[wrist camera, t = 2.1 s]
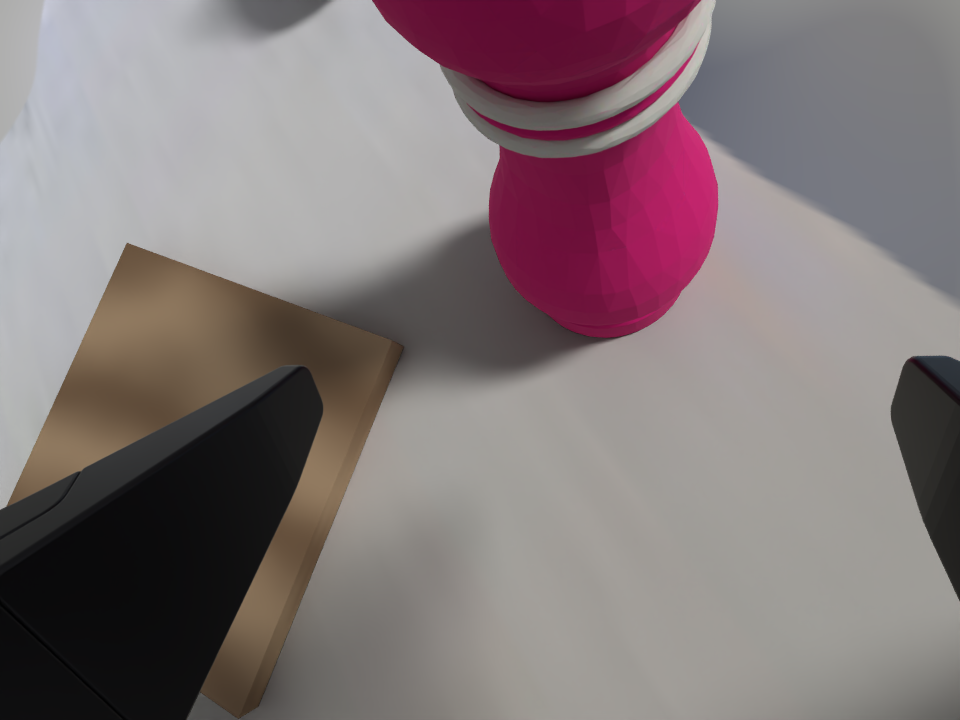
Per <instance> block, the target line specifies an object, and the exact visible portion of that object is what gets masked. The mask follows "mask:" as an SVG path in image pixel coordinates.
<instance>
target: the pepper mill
mask: <svg viewBox="0 0 960 720" xmlns="http://www.w3.org/2000/svg"><path fill="white" fill-rule="evenodd" d="M372 1H373V2H374V4H375V5H376V7H377V8H378V10H379V11H380V13H381V14H382V16H383V17H384V19H385V20H386V22H387V23H388V24H390V25H391V26H392V27H393V28H394V29H395V30H396V31H397V32H398V33H399V34H401V35H402V36H403V37H404V38H405V39H406V40H407V41H408V42H409V43H411V44H412V45H413V46H414V47H416V48H417V49H418V50H419V51H421V52H422V53H424V54H425V55H427V56H428V57H430V58H431V59H433V60H434V61H436V62H437V63H439V64H440V67H441V70H442V72H443V74H444V76H445V77H446V79H447V81H448V83H449V84H450V85H451V87H452V89H453V92H454V95H455V98H456V100H457V102H458V104H459V106H460V107H461V109H462V111H463V113H464V114H465V116H466V117H467V118H468V120H469V121H470V122H471V123H472V124H473V125H474V126H475V127H476V128H477V130H478V131H479V132H481V133H482V134H483V135H484V136H485V137H487V138H488V139H490V140H491V141H493V142H495V143H497V144H499V146H500V159H499V162H498V165H497V168H496V170H495V173H494V177H493V181H492V184H491V188H490V198H489V224H490V233H491V240H492V243H493V245H494V248H495V251H496V254H497V256H498V259H499V261H500V264H501V266H502V268H503V270H504V272H505V274H506V276H507V278H508V279H509V281H510V282H511V283H512V285H513V286H514V288H515V289H516V290H517V291H518V292H519V293H520V294H521V295H522V296H523V297H524V298H525V299H526V300H527V301H528V302H530V303H531V304H533V305H534V306H535V307H537V308H538V309H540V310H541V311H543V312H545V313H546V314H548V315H549V316H550V317H551V318H552V319H553V320H554V321H556V322H557V323H558V324H560V325H561V326H563V327H565V328H567V329H569V330H571V331H573V332H575V333H579V334H583V335H586V336H591V337H602V338H609V337H618V336H624V335H627V334H630V333H634V332H637V331H639V330H641V329H643V328H645V327H647V326H649V325H651V324H652V323H654V322H655V321H657V320H658V319H659V318H660V317H661V316H663V315H664V314H665V313H666V312H667V311H668V310H669V308H670V307H671V306H672V305H673V304H674V302H675V301H676V299H677V298H678V296H679V295H680V293H681V291H682V290H683V289H684V288H685V287H686V286H687V285H688V284H689V283H690V281H691V280H692V279H693V277H694V276H695V275H696V274H697V272H698V271H699V270H700V268H701V266H702V264H703V262H704V261H705V259H706V257H707V255H708V253H709V250H710V247H711V244H712V241H713V238H714V233H715V227H716V220H717V211H718V184H717V180H716V177H715V173H714V170H713V166H712V163H711V159H710V156H709V154H708V151H707V148H706V146H705V144H704V143H703V141H702V139H701V137H700V135H699V134H698V133H697V131H696V130H695V129H694V128H693V127H692V126H691V124H690V123H689V122H688V121H687V120H686V118H685V117H684V116H683V114H682V112H681V109H680V106H679V103H678V100H679V99H680V98H681V97H682V95H683V94H684V93H685V92H686V90H687V89H688V88H689V86H690V85H691V83H692V82H693V80H694V78H695V77H696V75H697V73H698V70H699V68H700V66H701V63H702V61H703V58H704V56H705V53H706V50H707V47H708V43H709V38H710V33H711V17H712V16H711V15H712V12H713V10H714V7H715V2H716V0H372Z"/></svg>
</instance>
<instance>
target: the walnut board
mask: <svg viewBox="0 0 960 720" xmlns="http://www.w3.org/2000/svg"><path fill="white" fill-rule="evenodd" d="M403 348H404V347H403V346H402V345H400V344H398V343H396V342H394V341H392V340H389V339H387V338H384V337H381V336H378V335H376V334H373V333H370V332H368V331H365V330H362V329H359V328H357V327H354V326H351V325H349V324H346V323H343V322H340V321H338V320H335V319H332V318H330V317H327V316H324V315H321V314H319V313H316V312H313V311H311V310H308V309H305V308H302V307H300V306H297V305H294V304H292V303H289V302H286V301H283V300H281V299H278V298H275V297H273V296H270V295H267V294H264V293H262V292H259V291H256V290H254V289H251V288H248V287H245V286H243V285H240V284H237V283H235V282H232V281H229V280H226V279H224V278H221V277H218V276H215V275H213V274H210V273H207V272H205V271H202V270H199V269H196V268H194V267H191V266H188V265H186V264H183V263H180V262H177V261H175V260H172V259H169V258H167V257H164V256H161V255H158V254H156V253H153V252H150V251H148V250H145V249H142V248H139V247H137V246H134V245H131V244H129V243H127V244H126V246H125V248H124V250H123V253H122V255H121V257H120V259H119V261H118V264H117V266H116V268H115V270H114V272H113V274H112V277H111V279H110V281H109V283H108V285H107V288H106V290H105V292H104V294H103V296H102V299H101V301H100V303H99V305H98V307H97V310H96V312H95V314H94V316H93V318H92V320H91V323H90V325H89V327H88V329H87V331H86V334H85V336H84V338H83V340H82V342H81V345H80V347H79V349H78V351H77V353H76V355H75V358H74V360H73V362H72V364H71V366H70V369H69V371H68V373H67V375H66V377H65V380H64V382H63V384H62V386H61V388H60V391H59V393H58V395H57V397H56V399H55V401H54V404H53V406H52V408H51V410H50V412H49V415H48V417H47V419H46V421H45V423H44V426H43V428H42V430H41V432H40V434H39V436H38V439H37V441H36V443H35V445H34V447H33V450H32V452H31V454H30V456H29V458H28V461H27V463H26V465H25V467H24V469H23V472H22V474H21V476H20V478H19V480H18V482H17V485H16V487H15V489H14V491H13V493H12V496H11V498H10V500H9V502H8V504H7V506H9V505H11V504H13V503H16V502H18V501H20V500H21V499H23V498H25V497H27V496H29V495H31V494H33V493H35V492H37V491H39V490H41V489H43V488H45V487H47V486H49V485H51V484H53V483H55V482H57V481H59V480H61V479H63V478H65V477H67V476H69V475H71V474H73V473H75V472H77V471H82V469H83V468H85V467H87V466H89V465H91V464H92V463H94V462H96V461H98V460H100V459H102V458H104V457H106V456H108V455H110V454H112V453H114V452H116V451H118V450H120V449H122V448H124V447H126V446H127V445H129V444H131V443H133V442H135V441H137V440H139V439H141V438H143V437H145V436H147V435H149V434H151V433H153V432H155V431H157V430H159V429H161V428H162V427H164V426H166V425H168V424H170V423H172V422H174V421H176V420H178V419H180V418H182V417H184V416H186V415H188V414H190V413H192V412H194V411H196V410H197V409H199V408H201V407H203V406H205V405H207V404H209V403H211V402H213V401H215V400H217V399H219V398H221V397H223V396H225V395H227V394H229V393H230V392H232V391H234V390H236V389H238V388H240V387H242V386H244V385H246V384H248V383H250V382H252V381H254V380H256V379H258V378H260V377H262V376H264V375H265V374H267V373H269V372H271V371H273V370H275V369H277V368H279V367H281V366H285V365H304V366H306V367H307V368H308V369H309V370H310V372H311V374H312V376H313V379H314V381H315V384H316V386H317V389H318V391H319V394H320V396H321V399H322V401H323V416H322V419H321V422H320V425H319V427H318V430H317V433H316V436H315V439H314V442H313V444H312V447H311V450H310V453H309V456H308V458H307V461H306V464H305V467H304V470H303V473H302V475H301V478H300V481H299V483H298V486H297V488H296V491H295V493H294V495H293V497H292V500H291V502H290V504H289V506H288V508H287V510H286V512H285V514H284V516H283V518H282V521H281V523H280V525H279V527H278V529H277V531H276V533H275V535H274V537H273V539H272V542H271V544H270V546H269V548H268V550H267V552H266V554H265V556H264V558H263V560H262V563H261V565H260V567H259V569H258V571H257V573H256V575H255V577H254V579H253V581H252V584H251V586H250V588H249V590H248V592H247V594H246V596H245V598H244V600H243V602H242V604H241V607H240V609H239V611H238V613H237V615H236V617H235V619H234V621H233V623H232V625H231V628H230V630H229V632H228V634H227V636H226V638H225V640H224V642H223V644H222V646H221V649H220V651H219V653H218V655H217V657H216V659H215V661H214V663H213V665H212V667H211V670H210V672H209V674H208V676H207V678H206V680H205V682H204V684H203V686H202V688H201V691H200V692H201V693H202V694H204V695H205V696H207V697H208V698H209V699H211V700H212V701H214V702H215V703H217V704H218V705H219V706H221V707H222V708H224V709H225V710H227V711H228V712H229V713H231V714H232V715H234V716H235V717H237V718H238V719H239V718H241V717H242V716H244V715H245V714H247V713H249V712H250V711H252V710H253V709H255V708H257V707H258V706H259V703H260V701H261V699H262V696H263V694H264V691H265V689H266V686H267V684H268V681H269V679H270V676H271V674H272V671H273V669H274V666H275V664H276V661H277V659H278V657H279V654H280V652H281V649H282V647H283V644H284V642H285V639H286V637H287V634H288V632H289V629H290V627H291V624H292V622H293V619H294V617H295V615H296V612H297V610H298V607H299V605H300V602H301V600H302V597H303V595H304V592H305V590H306V587H307V585H308V582H309V580H310V577H311V575H312V572H313V570H314V568H315V565H316V563H317V560H318V558H319V555H320V553H321V550H322V548H323V545H324V543H325V540H326V538H327V535H328V533H329V530H330V528H331V526H332V523H333V521H334V518H335V516H336V513H337V511H338V508H339V506H340V503H341V501H342V498H343V496H344V493H345V491H346V488H347V486H348V484H349V481H350V479H351V476H352V474H353V471H354V469H355V466H356V464H357V461H358V459H359V456H360V454H361V451H362V449H363V446H364V444H365V442H366V439H367V437H368V434H369V432H370V429H371V427H372V424H373V422H374V419H375V417H376V414H377V412H378V409H379V407H380V404H381V402H382V400H383V397H384V395H385V392H386V390H387V387H388V385H389V382H390V380H391V377H392V375H393V372H394V370H395V367H396V365H397V362H398V360H399V357H400V355H401V353H402V350H403Z"/></svg>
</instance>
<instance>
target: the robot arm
mask: <svg viewBox="0 0 960 720" xmlns="http://www.w3.org/2000/svg"><path fill="white" fill-rule="evenodd" d="M322 416H323V401H322V399H321V396H320V394H319V391H318V389H317V386H316V384H315V381H314V379H313V376H312V374H311V372H310V370H309V369H308V368H307V367H306V366H304V365H285V366H281V367H279V368H277V369H275V370H273V371H271V372H269V373H267V374H265V375H264V376H262V377H260V378H258V379H256V380H254V381H252V382H250V383H248V384H246V385H244V386H242V387H240V388H238V389H236V390H234V391H232V392H230V393H229V394H227V395H225V396H223V397H221V398H219V399H217V400H215V401H213V402H211V403H209V404H207V405H205V406H203V407H201V408H199V409H197V410H196V411H194V412H192V413H190V414H188V415H186V416H184V417H182V418H180V419H178V420H176V421H174V422H172V423H170V424H168V425H166V426H164V427H162V428H161V429H159V430H157V431H155V432H153V433H151V434H149V435H147V436H145V437H143V438H141V439H139V440H137V441H135V442H133V443H131V444H129V445H127V446H126V447H124V448H122V449H120V450H118V451H116V452H114V453H112V454H110V455H108V456H106V457H104V458H102V459H100V460H98V461H96V462H94V463H92V464H91V465H89V466H87V467H85V468H83V469H82V471H77V472H75V473H73V474H71V475H69V476H67V477H65V478H63V479H61V480H59V481H57V482H55V483H53V484H51V485H49V486H47V487H45V488H43V489H41V490H39V491H37V492H35V493H33V494H31V495H29V496H27V497H25V498H23V499H21V500H20V501H18V502H16V503H13V504H11V505H9V506H7V507H5V508H3V509H1V510H0V720H187V718H188V716H189V714H190V712H191V709H192V707H193V705H194V703H195V701H196V699H197V697H198V695H199V693H200V691H201V688H202V686H203V684H204V682H205V680H206V678H207V676H208V674H209V672H210V670H211V667H212V665H213V663H214V661H215V659H216V657H217V655H218V653H219V651H220V649H221V646H222V644H223V642H224V640H225V638H226V636H227V634H228V632H229V630H230V628H231V625H232V623H233V621H234V619H235V617H236V615H237V613H238V611H239V609H240V607H241V604H242V602H243V600H244V598H245V596H246V594H247V592H248V590H249V588H250V586H251V584H252V581H253V579H254V577H255V575H256V573H257V571H258V569H259V567H260V565H261V563H262V560H263V558H264V556H265V554H266V552H267V550H268V548H269V546H270V544H271V542H272V539H273V537H274V535H275V533H276V531H277V529H278V527H279V525H280V523H281V521H282V518H283V516H284V514H285V512H286V510H287V508H288V506H289V504H290V502H291V500H292V497H293V495H294V493H295V491H296V488H297V486H298V483H299V481H300V478H301V475H302V473H303V470H304V467H305V464H306V461H307V458H308V456H309V453H310V450H311V447H312V444H313V442H314V439H315V436H316V433H317V430H318V427H319V425H320V422H321V419H322ZM891 421H892V425H893V428H894V431H895V434H896V438H897V441H898V444H899V447H900V450H901V454H902V457H903V460H904V463H905V466H906V470H907V473H908V476H909V479H910V482H911V486H912V489H913V492H914V495H915V498H916V502H917V505H918V508H919V510H920V513H921V516H922V519H923V522H924V524H925V527H926V529H927V531H928V534H929V536H930V538H931V540H932V543H933V545H934V547H935V549H936V551H937V553H938V555H939V558H940V560H941V562H942V564H943V566H944V568H945V571H946V573H947V575H948V577H949V579H950V581H951V583H952V586H953V588H954V590H955V592H956V594H957V596H958V599H959V601H960V361H958V360H955V359H953V358H951V357H948V356H913V357H911V358H909V359H908V360H907V361H906V362H905V364H904V366H903V368H902V372H901V375H900V378H899V382H898V385H897V388H896V392H895V395H894V398H893V402H892V405H891Z"/></svg>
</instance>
